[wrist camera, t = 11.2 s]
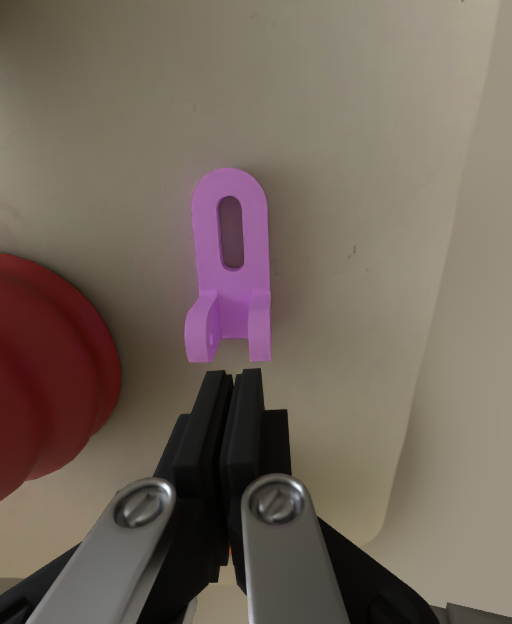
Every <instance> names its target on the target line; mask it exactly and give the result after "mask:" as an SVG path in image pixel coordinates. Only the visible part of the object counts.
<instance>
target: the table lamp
mask: <svg viewBox="0 0 512 624" xmlns="http://www.w3.org/2000/svg"><path fill="white" fill-rule="evenodd" d="M120 388H121V366H120V362H119V358H118V354H117V350H116V346H115V344H114V341H113V339H112V337H111V334H110V332H109V330H108V328H107V326H106V324H105V323H104V321H103V320H102V318H101V317H100V315H99V314H98V312H97V311H96V309H95V308H94V306H93V305H92V304H91V303H90V302H89V301H88V300H87V299H86V298H85V297H84V296H83V295H82V294H81V293H80V292H79V291H78V290H77V289H76V288H75V287H73V286H72V285H70V284H69V283H68V282H66V281H65V280H64V279H62V278H61V277H59V276H58V275H57V274H55V273H53V272H51V271H49V270H48V269H46V268H44V267H42V266H40V265H38V264H36V263H34V262H32V261H29V260H26V259H23V258H20V257H17V256H13V255H10V254H3V253H0V501H1V500H3V499H4V498H6V497H7V496H8V495H10V494H11V493H12V492H14V491H15V490H16V489H17V488H19V487H20V486H21V485H22V484H23V483H24V481H28V480H33V479H37V478H40V477H42V476H45V475H47V474H49V473H52V472H54V471H56V470H59V469H61V468H62V467H63V466H65V465H66V464H68V463H69V462H70V461H72V460H73V459H74V458H75V457H76V456H77V455H78V454H79V452H80V451H81V450H82V449H83V448H84V447H85V445H86V444H87V442H88V441H89V439H90V437H91V436H92V435H93V434H95V433H96V432H97V431H99V430H100V428H101V427H102V426H103V425H104V424H105V422H106V421H107V420H108V419H109V417H110V416H111V414H112V412H113V410H114V408H115V406H116V404H117V401H118V396H119V392H120Z"/></svg>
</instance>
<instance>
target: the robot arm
mask: <svg viewBox="0 0 512 624" xmlns="http://www.w3.org/2000/svg"><path fill="white" fill-rule="evenodd" d="M230 548H231V554H232V561H233V565H234V568H235V574H236V581H237V585H238V586H239V587H240V588H241V590H242V591H243V592H244V593H245V594H246V596H247V600H248V613H249V614H248V615H249V624H512V618H511V617H507V616H503V615H498V614H494V613H490V612H485V611H482V610H477V609H473V608H469V607H465V606H461V605H456V604H452V603H447V606H446V609H445V608H441V607H436V606H432V605H429V604H428V603H427V602H426V601H425V600H424V599H423V598H422V597H421V596H420V595H419V594H418V593H417V592H416V591H415V590H413V589H412V588H411V587H409V586H408V585H407V584H405V583H404V582H403V581H402V580H400V579H399V578H397V577H396V576H395V575H394V574H392V573H391V572H390V571H388V570H387V569H386V568H384V567H383V566H382V565H381V564H379V563H378V562H377V561H375V560H374V559H373V558H371V557H370V556H369V555H368V554H366V553H365V552H364V551H362V550H361V549H360V548H358V547H357V546H356V545H355V544H353V543H352V542H351V541H349V540H348V539H347V538H345V537H344V536H343V535H341V534H340V533H339V532H338V531H336V530H335V529H334V528H332V527H331V526H330V525H328V524H327V523H326V522H324V521H323V520H322V519H321V518H319V517H318V516H317V515H316V512H315V509H314V505H313V502H312V499H311V496H310V493H309V492H308V490H307V488H306V486H305V485H304V484H303V483H302V482H301V481H300V480H298V479H296V478H294V477H292V472H291V457H290V443H289V428H288V413H287V409H280V410H265V407H264V396H263V385H262V375H261V368H254V369H243V372H242V374H236V378H235V383H234V385H233V378H232V374H228V375H226V372H225V370H218V371H207V372H206V375H205V377H204V380H203V383H202V385H201V388H200V390H199V393H198V396H197V398H196V401H195V404H194V406H193V409H192V412H191V414H181V415H180V416H179V417H178V419H177V422H176V424H175V426H174V429H173V431H172V433H171V436H170V438H169V440H168V443H167V445H166V447H165V450H164V452H163V454H162V457H161V459H160V461H159V464H158V466H157V468H156V471H155V473H154V475H153V478H145V479H141V480H137V481H135V482H133V483H131V484H129V485H127V486H126V487H125V488H123V489H122V490H121V491H119V492H118V493H117V494H116V496H115V497H114V498H113V499H112V500H111V501H110V503H109V504H108V506H107V507H106V509H105V510H104V511H103V513H102V514H101V516H100V517H99V519H98V520H97V521H96V523H95V524H94V526H93V527H92V529H91V530H90V531H89V533H88V534H87V536H86V537H85V539H84V540H83V541H82V542H80V543H79V544H77V545H76V546H74V547H73V548H71V549H70V550H68V551H67V552H65V553H64V554H62V555H61V556H59V557H58V558H56V559H55V560H53V561H52V562H50V563H49V564H47V565H45V566H44V567H42V568H41V569H39V570H38V571H36V572H35V573H33V574H32V575H30V576H29V577H27V578H26V579H24V580H23V581H21V582H20V583H18V584H17V585H15V586H14V587H12V588H11V589H9V590H8V591H6V592H4V593H3V594H2V595H0V624H192V621H193V617H194V615H195V611H196V606H197V595H198V594H199V593H200V592H201V591H202V590H203V589H204V588H205V587H206V586H207V585H208V584H209V583H218V578H219V571H220V566H227V564H228V559H229V551H230Z"/></svg>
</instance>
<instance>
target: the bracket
mask: <svg viewBox="0 0 512 624" xmlns="http://www.w3.org/2000/svg"><path fill="white" fill-rule="evenodd" d="M226 196H233V197H235V198H237V199H238V200H239V202H240V204H241V207H242V224H243V242H244V259H245V261H244V264H243V265H242V266H241V267H239V268H231V267H229V266H227V265H226V264H225V262H224V260H223V253H222V240H221V227H220V214H219V205H220V202H221V200H222V199H223V198H225V197H226ZM191 215H192V224H193V234H194V244H195V254H196V263H197V273H198V283H199V298H198V299H197V301H196V302H195V303H194V305H193V306H192V308H191V309H190V310H189V312H188V314H187V317H186V322H185V349H186V354H187V357H188V360H189V361H190V362H191V363H192V362H212V361H213V359H214V356H215V354H216V351H217V348H218V346H219V343H220V340H221V339H236V338H249V354H250V360H251V361H271V343H272V327H271V297H270V267H269V236H268V206H267V199H266V196H265V193H264V190H263V189H262V187H261V185H260V184H259V183H258V182H257V180H256V179H255V178H253V177H252V176H251V175H250V174H248V173H246V172H245V171H242V170H240V169H236V168H220V169H216V170H214V171H212V172H210V173H208V174H207V175H205V176H204V177H203V178H202V179H201V180H200V181H199V183H198V184H197V186H196V188H195V190H194V192H193V195H192V200H191Z"/></svg>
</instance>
